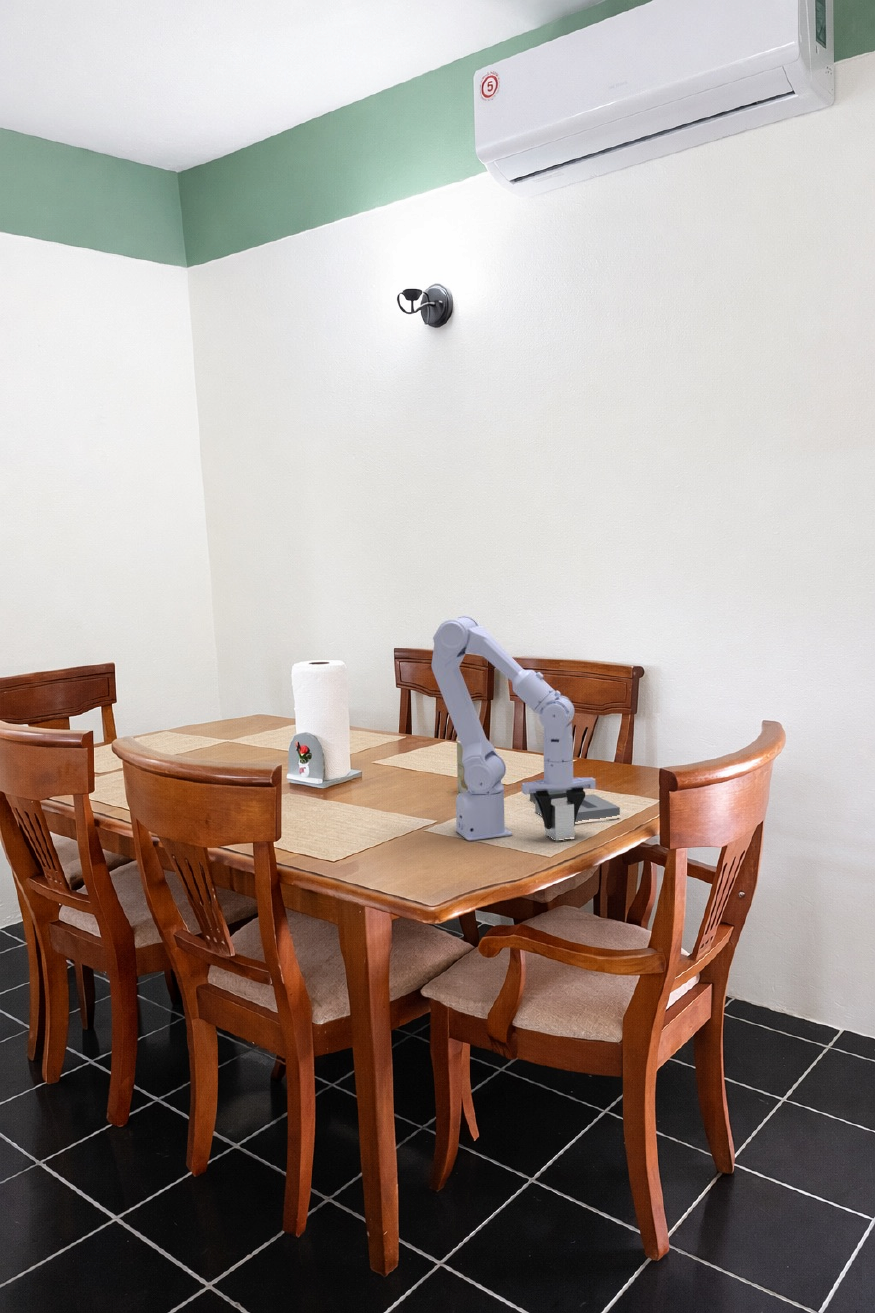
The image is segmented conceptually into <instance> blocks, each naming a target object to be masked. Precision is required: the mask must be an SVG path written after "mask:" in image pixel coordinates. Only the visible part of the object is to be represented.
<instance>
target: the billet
mask: <svg viewBox="0 0 875 1313" xmlns="http://www.w3.org/2000/svg"><path fill="white" fill-rule="evenodd" d="M550 816H551V829H547V828H545V827H544V834H546V835H545V836H547V837H548V836H549V837H548V838H550V837H552V838H553V839H555V840H559V839H565V838H570V837H574V838H575V827H574V804H573V803H571V802H569V801H567V800H565V799H564V798H560V799H552V800H551V811H550ZM553 839H552V840H553Z"/></svg>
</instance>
